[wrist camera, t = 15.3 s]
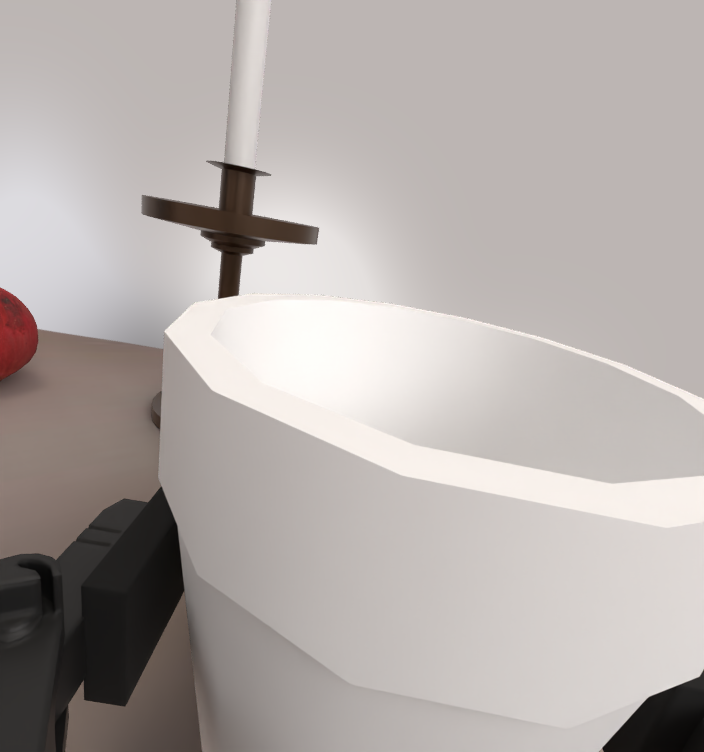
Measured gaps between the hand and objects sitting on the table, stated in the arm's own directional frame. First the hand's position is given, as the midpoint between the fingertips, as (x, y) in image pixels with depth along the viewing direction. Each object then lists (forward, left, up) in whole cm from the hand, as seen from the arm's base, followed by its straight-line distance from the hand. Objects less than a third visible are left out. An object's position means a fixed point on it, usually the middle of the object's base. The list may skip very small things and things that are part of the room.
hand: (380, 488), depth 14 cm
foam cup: (+3, -3, -7) cm, 9 cm away
